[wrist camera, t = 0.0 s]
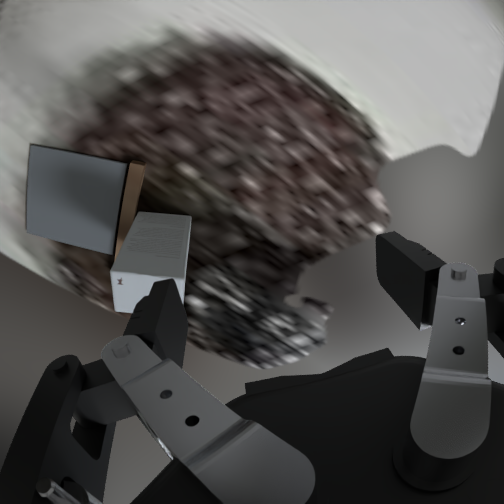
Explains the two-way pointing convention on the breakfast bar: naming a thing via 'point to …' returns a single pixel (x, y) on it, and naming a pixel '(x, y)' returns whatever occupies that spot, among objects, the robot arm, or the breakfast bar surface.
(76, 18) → the breakfast bar surface
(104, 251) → the grey mat
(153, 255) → the skincare box
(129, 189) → the walnut strip
